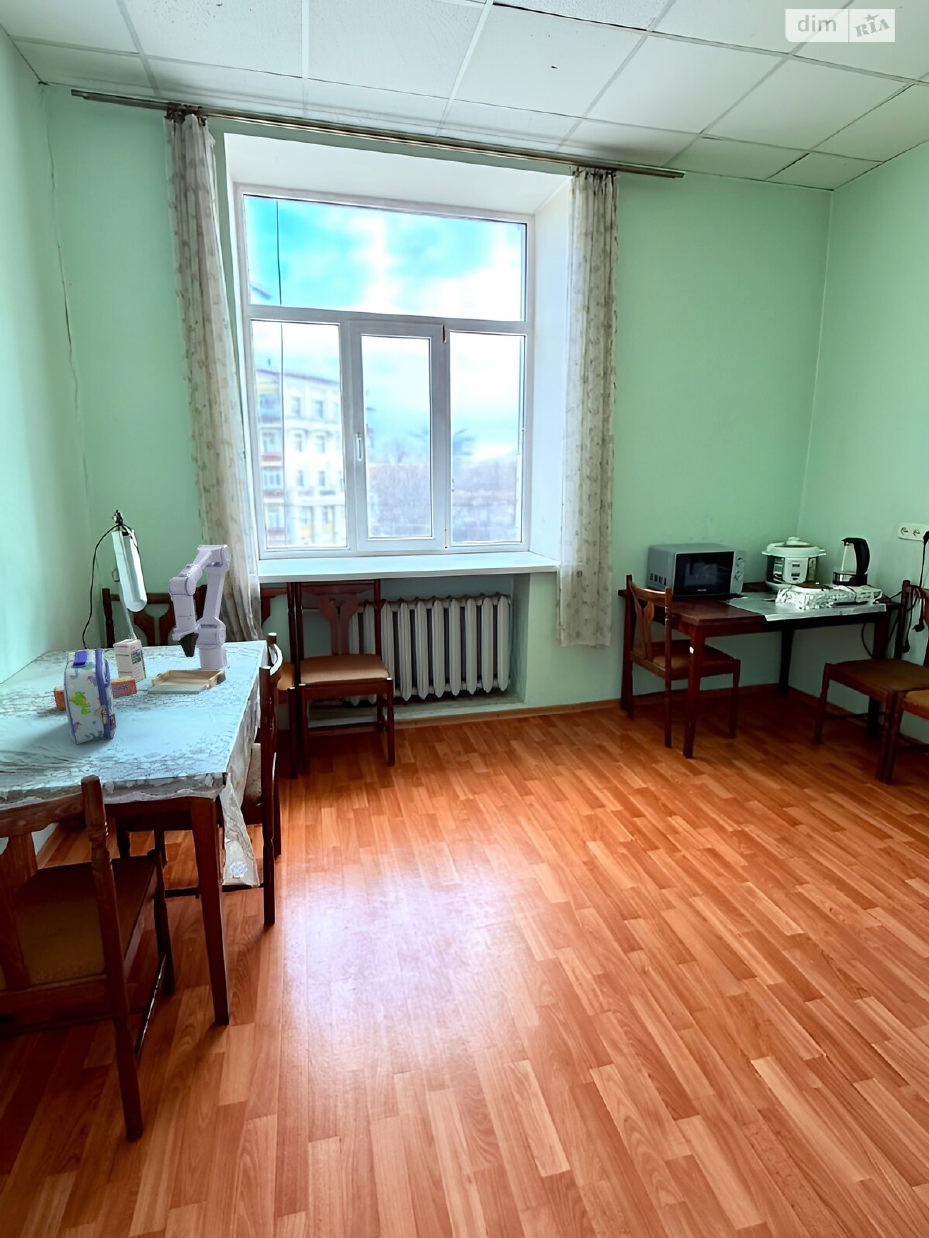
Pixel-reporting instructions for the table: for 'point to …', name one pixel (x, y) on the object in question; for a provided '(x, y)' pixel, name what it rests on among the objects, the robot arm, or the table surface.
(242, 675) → the table surface
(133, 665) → the syrup box
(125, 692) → the snack package
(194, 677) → the beige tray
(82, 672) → the lunch box
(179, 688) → the tailgate
